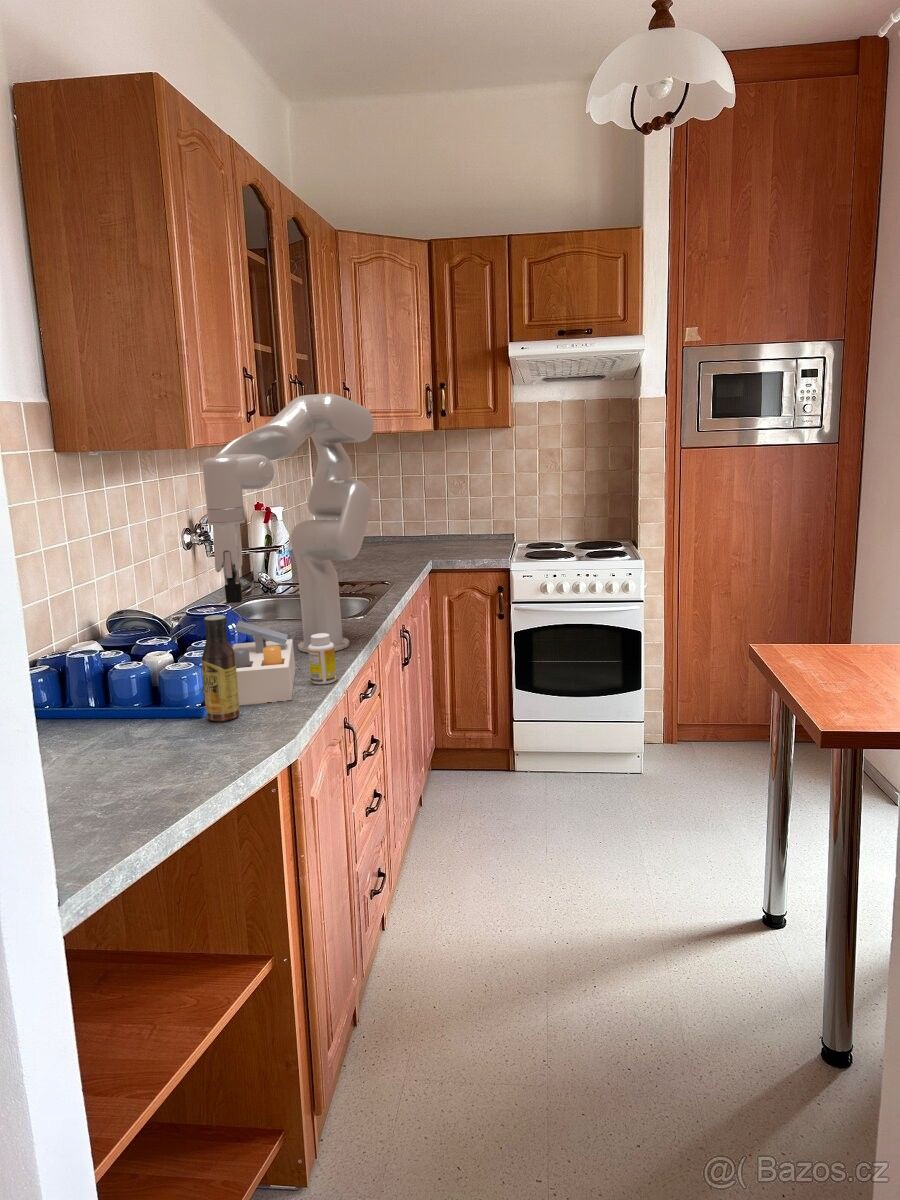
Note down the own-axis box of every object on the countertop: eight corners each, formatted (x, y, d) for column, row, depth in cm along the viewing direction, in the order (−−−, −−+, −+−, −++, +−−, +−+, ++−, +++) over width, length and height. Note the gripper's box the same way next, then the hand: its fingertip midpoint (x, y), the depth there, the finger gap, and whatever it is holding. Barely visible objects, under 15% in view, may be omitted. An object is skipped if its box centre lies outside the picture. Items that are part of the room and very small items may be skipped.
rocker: (235, 629, 193) (238, 620, 193) (284, 644, 196) (287, 634, 195) (233, 635, 188) (236, 625, 188) (283, 650, 190) (286, 640, 190)
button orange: (266, 681, 183) (263, 646, 182) (284, 680, 184) (281, 645, 182) (265, 686, 180) (262, 650, 178) (283, 684, 180) (280, 649, 179)
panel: (236, 673, 200) (232, 628, 198) (295, 668, 201) (291, 624, 199) (225, 706, 176) (220, 655, 174) (291, 700, 178) (286, 650, 176)
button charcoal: (235, 684, 183) (231, 649, 181) (252, 682, 183) (249, 647, 182) (233, 689, 179) (229, 653, 178) (251, 687, 180) (247, 652, 178)
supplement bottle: (337, 676, 193) (333, 631, 191) (336, 684, 188) (332, 637, 186) (311, 678, 193) (307, 633, 191) (310, 686, 187) (306, 639, 185)
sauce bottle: (201, 718, 170) (190, 617, 166) (231, 710, 174) (220, 611, 170) (216, 725, 165) (205, 622, 161) (247, 717, 169) (236, 615, 165)
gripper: (212, 514, 193) (220, 597, 196) (203, 521, 178) (212, 610, 182) (247, 512, 194) (254, 594, 197) (241, 518, 179) (249, 607, 183)
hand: (234, 601), depth 189 cm, fingers closed
